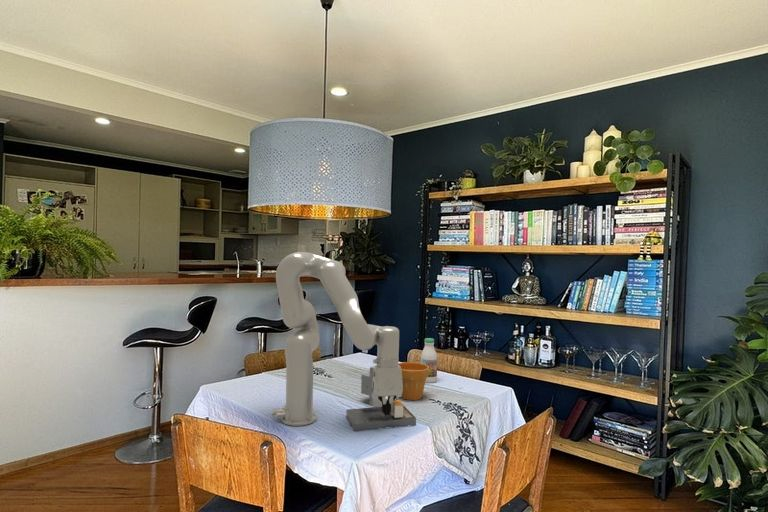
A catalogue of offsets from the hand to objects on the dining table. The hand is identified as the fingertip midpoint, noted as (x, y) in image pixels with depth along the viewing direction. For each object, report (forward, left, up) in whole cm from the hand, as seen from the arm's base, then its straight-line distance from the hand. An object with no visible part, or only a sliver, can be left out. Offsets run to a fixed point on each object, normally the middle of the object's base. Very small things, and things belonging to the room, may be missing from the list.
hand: (386, 414), depth 156 cm
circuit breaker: (+3, +22, -4) cm, 23 cm away
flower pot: (+19, +26, -4) cm, 33 cm away
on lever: (+3, +8, -1) cm, 9 cm away
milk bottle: (+35, +46, -4) cm, 58 cm away
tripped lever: (+4, 0, -1) cm, 4 cm away
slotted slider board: (-1, +4, -4) cm, 6 cm away
